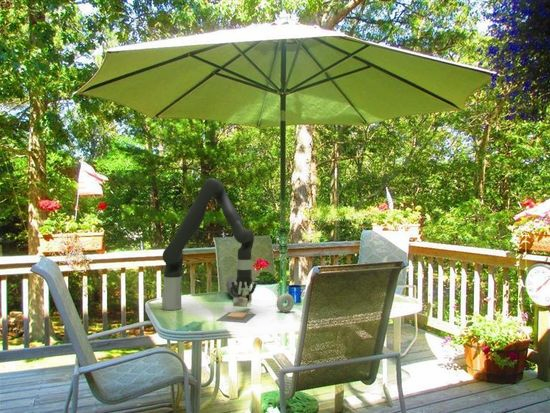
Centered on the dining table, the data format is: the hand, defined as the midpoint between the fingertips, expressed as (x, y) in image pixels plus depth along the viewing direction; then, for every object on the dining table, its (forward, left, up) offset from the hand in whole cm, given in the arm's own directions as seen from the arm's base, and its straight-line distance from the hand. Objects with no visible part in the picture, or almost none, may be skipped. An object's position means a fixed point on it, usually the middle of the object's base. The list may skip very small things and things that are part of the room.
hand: (244, 301), depth 240 cm
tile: (0, -6, -5) cm, 8 cm away
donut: (+20, +8, -6) cm, 22 cm away
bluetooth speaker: (-19, +41, -6) cm, 46 cm away
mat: (0, -11, -6) cm, 13 cm away
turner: (0, +2, -1) cm, 2 cm away
